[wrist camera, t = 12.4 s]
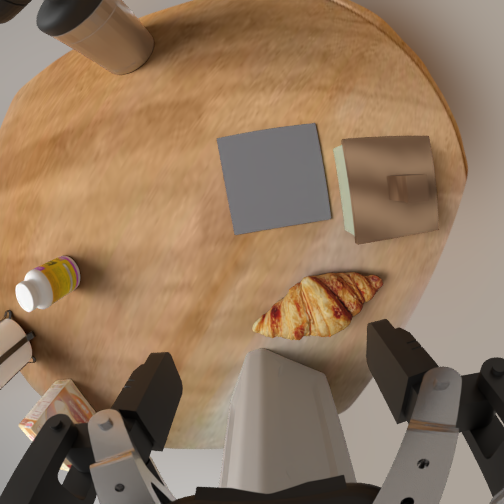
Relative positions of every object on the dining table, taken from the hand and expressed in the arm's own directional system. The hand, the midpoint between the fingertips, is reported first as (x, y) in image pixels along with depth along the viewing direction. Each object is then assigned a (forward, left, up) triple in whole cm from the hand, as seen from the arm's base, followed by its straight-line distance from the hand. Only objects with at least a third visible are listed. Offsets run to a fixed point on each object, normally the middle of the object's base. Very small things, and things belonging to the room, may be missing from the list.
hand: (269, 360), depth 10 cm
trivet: (-7, +3, -30) cm, 31 cm away
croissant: (+12, +6, -31) cm, 33 cm away
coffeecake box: (+34, -52, -30) cm, 69 cm away
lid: (-4, +18, -24) cm, 30 cm away
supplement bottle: (+1, -36, -30) cm, 47 cm away
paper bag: (+27, -3, -30) cm, 41 cm away
